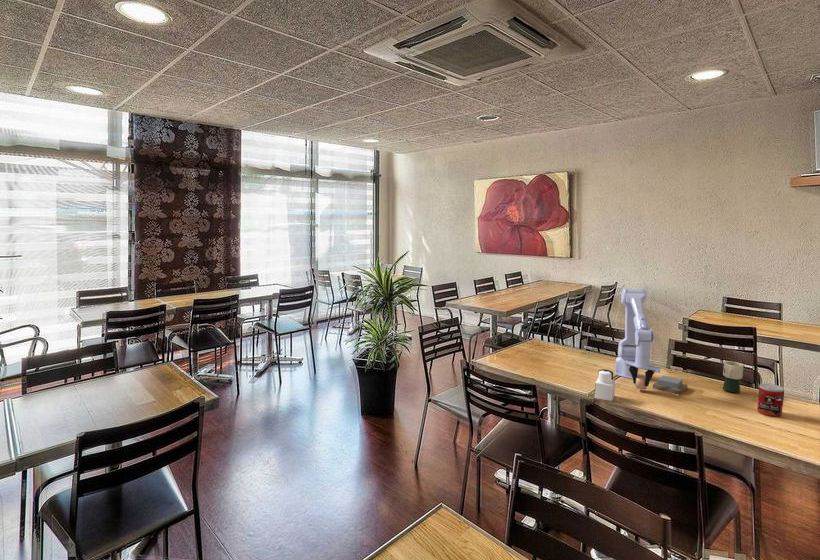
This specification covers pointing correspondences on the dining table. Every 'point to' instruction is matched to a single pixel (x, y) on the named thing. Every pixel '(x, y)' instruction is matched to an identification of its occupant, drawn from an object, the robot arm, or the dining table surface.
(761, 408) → the canned food
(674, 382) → the top slab
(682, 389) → the base slab
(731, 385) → the character mug
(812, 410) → the dining table surface
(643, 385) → the egg
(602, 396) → the medicine bottle
